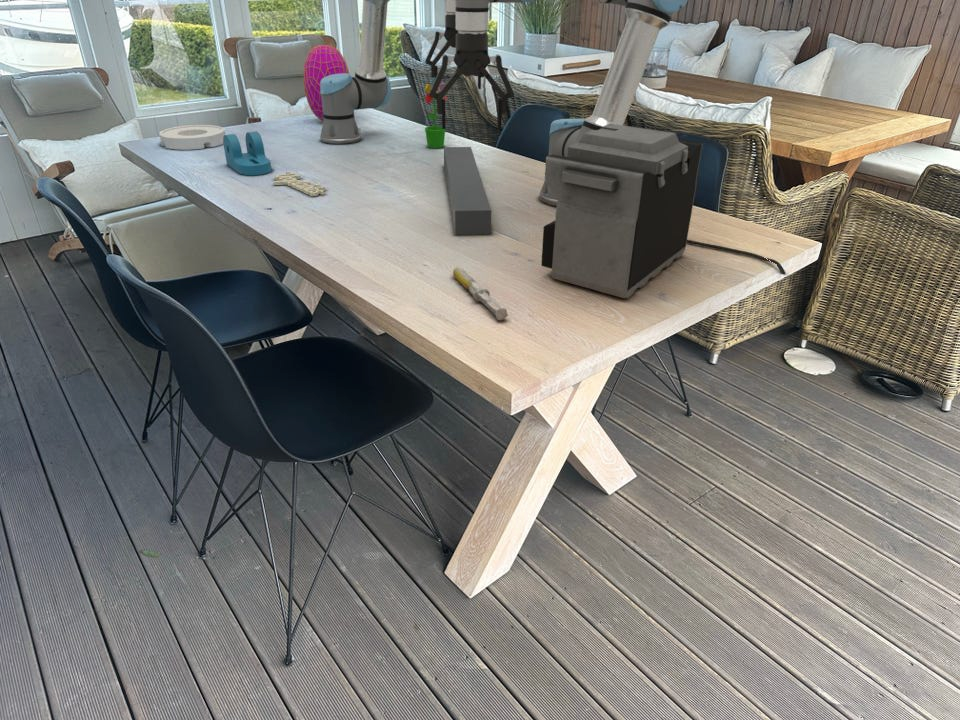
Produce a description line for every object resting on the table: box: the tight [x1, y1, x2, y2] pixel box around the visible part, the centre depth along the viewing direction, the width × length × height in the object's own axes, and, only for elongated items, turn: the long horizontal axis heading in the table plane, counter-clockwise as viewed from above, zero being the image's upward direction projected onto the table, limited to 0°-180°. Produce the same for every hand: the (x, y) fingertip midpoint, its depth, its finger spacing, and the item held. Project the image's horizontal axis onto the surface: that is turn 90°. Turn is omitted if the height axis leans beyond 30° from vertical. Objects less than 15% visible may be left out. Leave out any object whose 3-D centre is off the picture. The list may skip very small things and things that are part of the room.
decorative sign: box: [273, 171, 326, 197], centre depth 212 cm, size 26×1×10 cm
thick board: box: [443, 146, 492, 236], centre depth 204 cm, size 67×9×6 cm, turn 5°
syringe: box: [452, 266, 509, 321], centre depth 145 cm, size 25×4×3 cm, turn 21°
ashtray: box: [158, 124, 226, 151], centre depth 259 cm, size 23×23×4 cm
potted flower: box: [424, 77, 449, 149], centre depth 252 cm, size 9×8×25 cm
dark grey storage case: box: [540, 124, 704, 299], centre depth 153 cm, size 37×22×30 cm, turn 144°
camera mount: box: [222, 131, 272, 176], centre depth 226 cm, size 18×10×10 cm, turn 35°
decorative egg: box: [303, 44, 350, 122], centre depth 287 cm, size 19×19×30 cm
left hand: (457, 88), depth 218 cm, fingers open, 13 cm apart
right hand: (471, 127), depth 168 cm, fingers open, 13 cm apart
